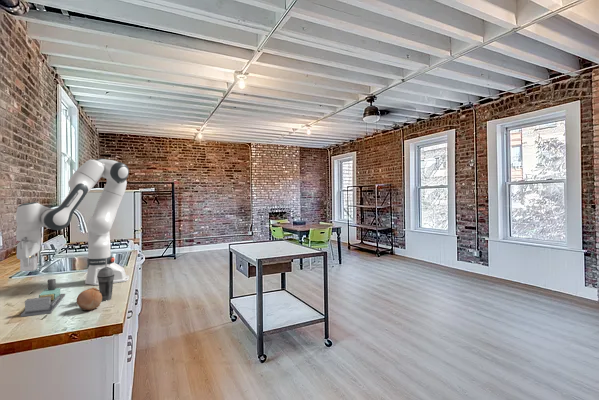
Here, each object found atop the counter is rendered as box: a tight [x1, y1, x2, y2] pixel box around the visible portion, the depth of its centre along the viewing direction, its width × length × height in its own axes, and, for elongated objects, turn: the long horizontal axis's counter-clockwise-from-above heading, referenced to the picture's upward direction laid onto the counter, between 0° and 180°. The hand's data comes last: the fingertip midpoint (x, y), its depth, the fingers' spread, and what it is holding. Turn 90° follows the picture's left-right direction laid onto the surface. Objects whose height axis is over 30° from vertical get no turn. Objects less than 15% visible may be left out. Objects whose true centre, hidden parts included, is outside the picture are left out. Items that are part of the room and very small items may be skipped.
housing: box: [19, 255, 38, 273], centre depth 149 cm, size 5×5×7 cm
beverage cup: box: [97, 258, 115, 302], centre depth 151 cm, size 7×7×20 cm
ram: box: [38, 278, 61, 300], centre depth 149 cm, size 6×11×8 cm, turn 26°
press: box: [20, 293, 66, 318], centre depth 142 cm, size 10×26×6 cm, turn 26°
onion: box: [76, 287, 103, 311], centre depth 138 cm, size 10×9×10 cm
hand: (29, 265), depth 149 cm, fingers closed on housing, 5 cm apart
